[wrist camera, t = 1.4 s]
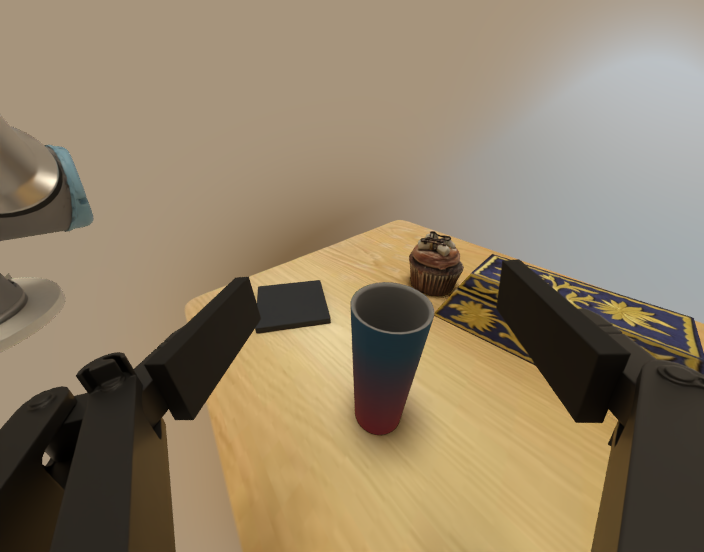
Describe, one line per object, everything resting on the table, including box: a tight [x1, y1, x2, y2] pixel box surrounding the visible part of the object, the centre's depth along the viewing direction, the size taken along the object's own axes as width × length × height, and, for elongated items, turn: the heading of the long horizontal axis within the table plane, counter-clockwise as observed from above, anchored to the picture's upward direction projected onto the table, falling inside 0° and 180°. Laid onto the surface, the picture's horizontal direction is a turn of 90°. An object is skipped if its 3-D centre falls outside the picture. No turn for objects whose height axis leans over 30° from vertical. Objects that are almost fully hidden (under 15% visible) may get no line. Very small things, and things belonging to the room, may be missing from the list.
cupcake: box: [409, 231, 464, 296], centre depth 50 cm, size 10×10×10 cm
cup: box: [351, 282, 434, 435], centre depth 27 cm, size 7×7×15 cm
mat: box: [255, 280, 330, 333], centre depth 46 cm, size 11×11×1 cm
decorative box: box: [434, 254, 704, 375], centre depth 38 cm, size 11×30×9 cm, turn 48°
